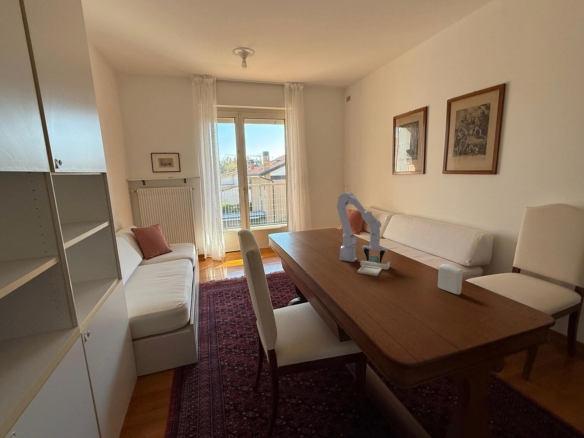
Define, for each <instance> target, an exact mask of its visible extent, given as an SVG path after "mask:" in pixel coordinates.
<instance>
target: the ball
mask: <svg viewBox="0 0 584 438" xmlns="http://www.w3.org/2000/svg"><path fill="white" fill-rule="evenodd" d="M369 262H375V263H379V262H380V257H379V256H378V255H377V254H372V255H369Z"/></svg>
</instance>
